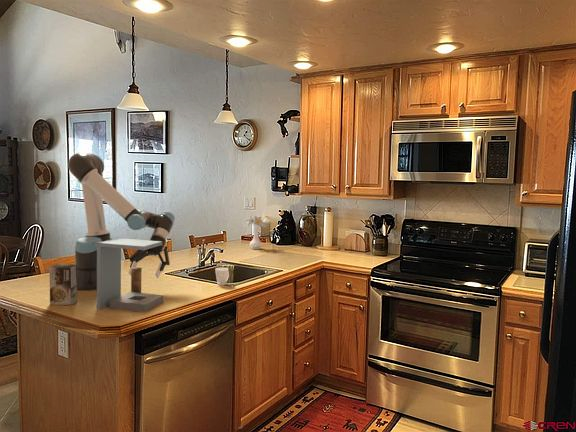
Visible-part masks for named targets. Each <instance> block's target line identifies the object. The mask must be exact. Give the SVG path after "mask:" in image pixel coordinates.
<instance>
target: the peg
mask: <svg viewBox="0 0 576 432" xmlns="http://www.w3.org/2000/svg"><path fill="white" fill-rule="evenodd" d="M130 277H131V278H130V285H131V286H130V289H131V290H130V292H137V293H142V267H139V266H138V267H137V266H136V267H134V268H131V275H130Z"/></svg>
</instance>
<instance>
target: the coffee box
mask: <svg viewBox="0 0 576 432" xmlns="http://www.w3.org/2000/svg"><path fill="white" fill-rule="evenodd" d="M48 268H49V269H48V270H49V271H48V272H49V305H55V306H58V305H60V306H62V305H63V306H66V305H67V306H68V305H69V306H71V305H73V304H75V303H76V302H78V296H77V295H78V289H77V265H75V264H73V263H72V264H71V263H69V264H65V263H60V264H59V263H58V264H57V263H56V264H53V265H51V266H49V267H48Z"/></svg>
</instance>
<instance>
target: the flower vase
mask: <svg viewBox="0 0 576 432" xmlns="http://www.w3.org/2000/svg"><path fill="white" fill-rule="evenodd" d="M246 223H247V224H246V225H247V226H251V225H253V229H254V230H253V238H252V240H251V241H250V242H249V246H250V248H251V249H252V250H260V248H261V247H262V246H263V244H262V242H261V240H260V238H259V227H262V228H263V227H264V228H265V229H266V228H267V224H269V221H268V220H267V217H266V218H265V219H264V220H262V216H259V217H258V216H256V215H255V216H254V217H252V216H250V217H249V219H247V220H246Z"/></svg>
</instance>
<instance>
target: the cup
mask: <svg viewBox="0 0 576 432" xmlns="http://www.w3.org/2000/svg"><path fill="white" fill-rule="evenodd" d="M214 271H215V279H216V282H217V284H216V285H218V286H225V285H226V283H227V281H228V279H229V277H230V271H229V268H227V267H216V268H215V269H214Z"/></svg>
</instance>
